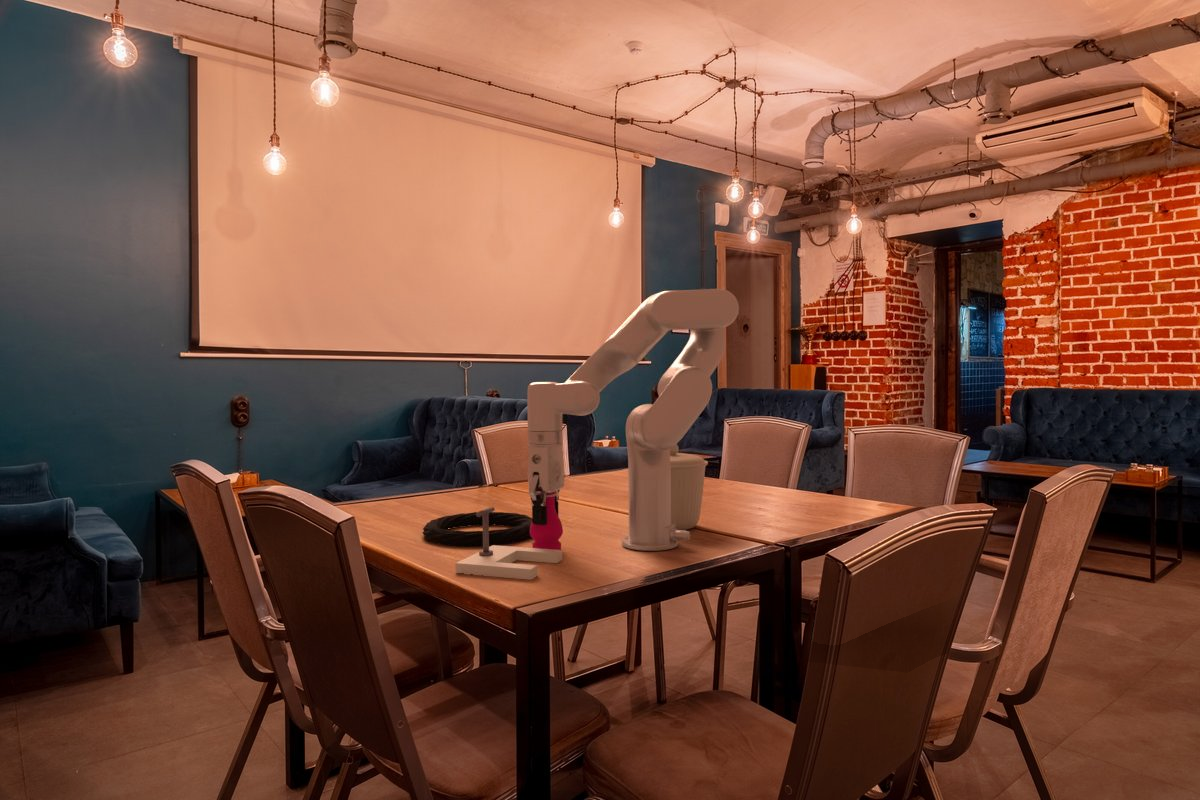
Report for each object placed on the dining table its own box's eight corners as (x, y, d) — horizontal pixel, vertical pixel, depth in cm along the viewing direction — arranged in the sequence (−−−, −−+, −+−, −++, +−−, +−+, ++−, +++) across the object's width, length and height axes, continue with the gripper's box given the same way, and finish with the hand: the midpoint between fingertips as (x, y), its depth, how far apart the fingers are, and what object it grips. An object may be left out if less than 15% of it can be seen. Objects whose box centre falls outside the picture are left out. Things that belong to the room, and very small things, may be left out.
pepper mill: (527, 549, 168) (524, 459, 168) (558, 546, 170) (556, 457, 170) (534, 556, 161) (531, 462, 161) (567, 553, 163) (564, 460, 163)
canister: (674, 517, 203) (673, 438, 202) (723, 528, 189) (723, 443, 188) (621, 526, 192) (620, 442, 192) (668, 538, 178) (668, 448, 177)
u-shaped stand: (562, 559, 158) (561, 505, 158) (530, 579, 143) (530, 520, 143) (493, 554, 163) (492, 502, 163) (455, 573, 148) (454, 515, 148)
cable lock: (437, 510, 198) (552, 509, 197) (437, 525, 198) (552, 524, 197) (408, 532, 170) (542, 531, 170) (408, 549, 171) (542, 548, 170)
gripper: (545, 442, 156) (546, 530, 156) (575, 436, 172) (575, 515, 172) (512, 441, 158) (512, 528, 159) (544, 435, 174) (545, 513, 175)
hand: (545, 520), depth 166 cm, fingers closed on pepper mill, 5 cm apart
